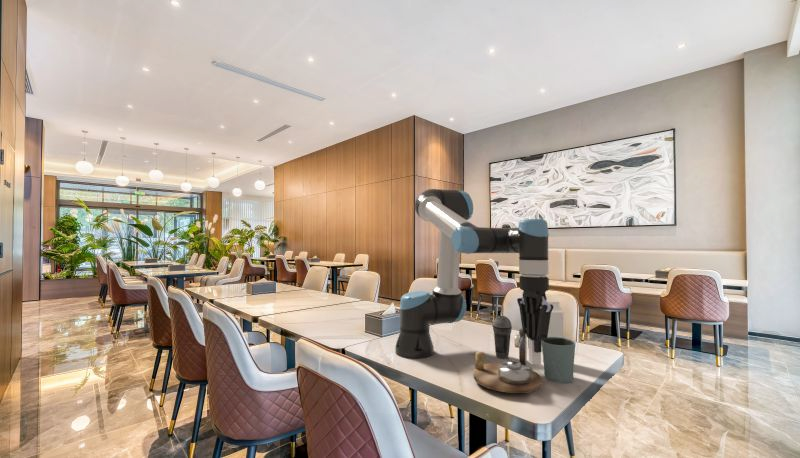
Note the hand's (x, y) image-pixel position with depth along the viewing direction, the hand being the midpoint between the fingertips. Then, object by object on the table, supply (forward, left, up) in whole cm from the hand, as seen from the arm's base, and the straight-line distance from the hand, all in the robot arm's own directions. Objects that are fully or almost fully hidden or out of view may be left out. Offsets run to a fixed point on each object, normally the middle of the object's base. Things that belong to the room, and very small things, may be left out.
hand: (535, 363), depth 95 cm
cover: (-7, +7, -8) cm, 13 cm away
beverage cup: (-18, +35, -11) cm, 41 cm away
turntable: (-10, +10, -10) cm, 17 cm away
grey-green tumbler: (+3, +24, -11) cm, 27 cm away
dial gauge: (-8, +21, -11) cm, 25 cm away
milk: (-1, +39, -11) cm, 41 cm away
